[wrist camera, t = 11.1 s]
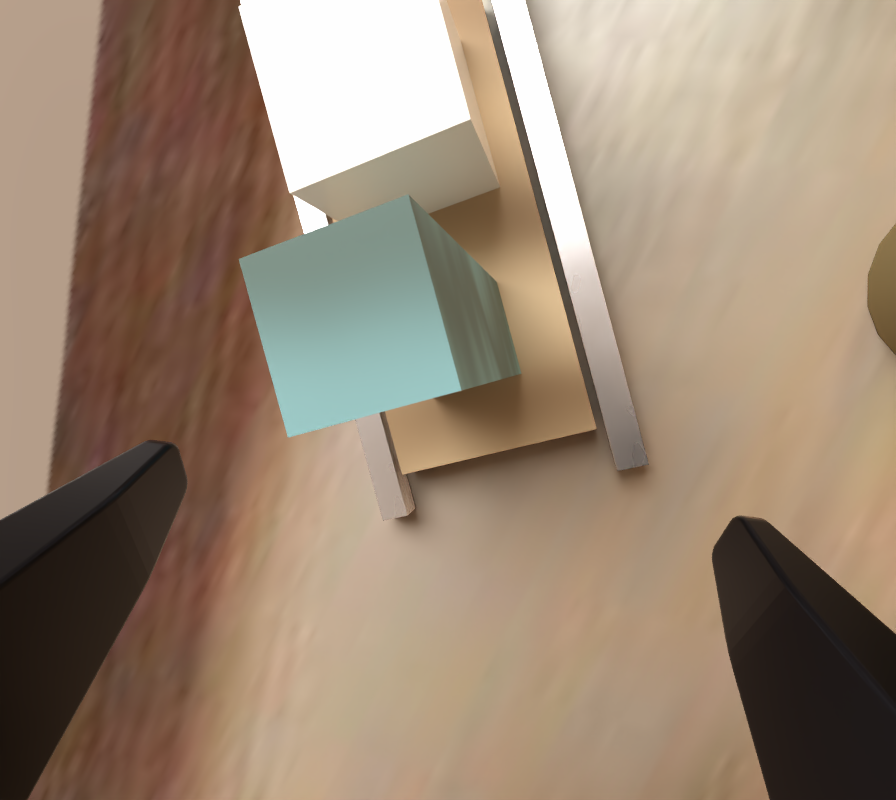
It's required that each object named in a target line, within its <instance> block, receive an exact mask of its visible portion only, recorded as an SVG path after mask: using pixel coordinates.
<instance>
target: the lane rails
mask: <svg viewBox="0 0 896 800" xmlns="http://www.w3.org/2000/svg"><path fill="white" fill-rule="evenodd" d="M240 1H241V5H242V4H244V3H246V2H248V1H250V0H240ZM491 2H492V6H493V10H494V14H495V17H496V21H497V25H498V29H499V32H500V36H501V40H502V44H503V47H504V51H505V55H506V58H507V62H508V66H509V70H510V73H511V77H512V81H513V85H514V88H515V92H516V96H517V100H518V103H519V107H520V111H521V115H522V118H523V122H524V126H525V129H526V133H527V137H528V141H529V144H530V148H531V152H532V156H533V159H534V163H535V167H536V171H537V174H538V178H539V182H540V186H541V189H542V193H543V197H544V200H545V204H546V208H547V212H548V215H549V219H550V223H551V227H552V230H553V234H554V238H555V242H556V245H557V249H558V253H559V257H560V260H561V264H562V268H563V271H564V275H565V279H566V283H567V286H568V290H569V294H570V298H571V301H572V305H573V309H574V313H575V316H576V320H577V324H578V328H579V331H580V335H581V339H582V342H583V346H584V350H585V354H586V357H587V361H588V365H589V369H590V372H591V376H592V380H593V384H594V387H595V391H596V395H597V398H598V402H599V406H600V410H601V413H602V417H603V421H604V425H605V428H606V432H607V436H608V440H609V443H610V447H611V451H612V455H613V458H614V462H615V466H616V468H617V471H620V470H625V469H629V468H634V467H639V466H643V465H648V464H649V463H648V459H647V456H646V452H645V448H644V445H643V441H642V437H641V433H640V430H639V426H638V422H637V418H636V415H635V411H634V407H633V403H632V400H631V396H630V392H629V388H628V385H627V381H626V377H625V373H624V370H623V366H622V362H621V358H620V355H619V351H618V347H617V343H616V340H615V336H614V332H613V328H612V325H611V321H610V317H609V313H608V310H607V306H606V302H605V298H604V295H603V291H602V287H601V283H600V280H599V276H598V272H597V268H596V265H595V261H594V257H593V253H592V250H591V246H590V242H589V238H588V235H587V231H586V227H585V223H584V220H583V216H582V212H581V208H580V205H579V201H578V197H577V193H576V190H575V186H574V182H573V178H572V175H571V171H570V167H569V163H568V160H567V156H566V152H565V148H564V145H563V141H562V137H561V133H560V130H559V126H558V122H557V118H556V115H555V111H554V107H553V103H552V100H551V96H550V92H549V88H548V85H547V81H546V77H545V73H544V70H543V66H542V62H541V58H540V55H539V51H538V47H537V43H536V40H535V36H534V32H533V28H532V25H531V21H530V17H529V13H528V10H527V6H526V2H525V0H491ZM294 198H295V202H296V205H297V209H298V213H299V216H300V220H301V224H302V227H303V231H304V234H306V233H308V232H311V231H314V230H316V229H319V228H321V227H324V226H327V225H329V224H332V223H333V220H332V218H331V217H330V216H328V215H326V214H325V213H323V212H321V211H319V210H318V209H316V208H314V207H313V206H311V205H309V204H307V203H306V202H304V201H302V200H300V199H299V198H297V197H295V196H294ZM355 421H356V424H357V428H358V432H359V435H360V439H361V443H362V446H363V450H364V454H365V457H366V461H367V464H368V468H369V472H370V475H371V479H372V483H373V486H374V490H375V494H376V497H377V501H378V505H379V508H380V512H381V516H382V519H383V521H384V520H389V519H394V518H398V517H403V516H408V515H409V514H410V513H411V512H412V511H413V510H414V509H415V504H414V500H413V497H412V493H411V489H410V486H409V482H408V478H407V475H406V474H403V475H402V472H401V469H400V465H399V461H398V458H397V454H396V450H395V447H394V443H393V439H392V436H391V432H390V428H389V425H388V421H387V417H386V414H385V411H384V412H380V413H377V414H373V415H369V416H366V417H362V418H358V419H355Z"/></svg>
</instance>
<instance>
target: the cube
mask: <svg viewBox="0 0 896 800" xmlns="http://www.w3.org/2000/svg"><path fill="white" fill-rule="evenodd" d="M239 10H240V14H241V18H242V21H243V25H244V29H245V32H246V36H247V40H248V43H249V47H250V51H251V54H252V58H253V62H254V65H255V69H256V73H257V76H258V80H259V83H260V87H261V91H262V94H263V98H264V102H265V105H266V109H267V113H268V116H269V120H270V124H271V127H272V131H273V135H274V138H275V142H276V145H277V149H278V153H279V156H280V160H281V164H282V167H283V171H284V175H285V178H286V182H287V186H288V189H289V193H290V194H292V195H294V196H295V197H297V198H299V199H300V200H302V201H304V202H306V203H307V204H309V205H311V206H313V207H314V208H316V209H318V210H319V211H321V212H323V213H325V214H326V215H328V216H330V217H331V218H333V219H335V220H337V221H340V220H342V219H345V218H348V217H350V216H353V215H355V214H358V213H361V212H363V211H366V210H368V209H371V208H374V207H376V206H379V205H382V204H384V203H387V202H389V201H392V200H395V199H397V198H400V197H402V196H405V195H408V194H409V195H410V196H411V197H412V198H413V199H414V200H415V201H416V202H417V203H418V204H419V205H420V206H421V207H422V208H423V209H424V210H425V211H426V212H427V213H428V214H429V213H432V212H434V211H437V210H440V209H443V208H445V207H448V206H451V205H453V204H456V203H459V202H462V201H464V200H467V199H470V198H472V197H475V196H478V195H480V194H483V193H486V192H489V191H491V190H494V189H497V188H499V187H500V185H499V181H498V177H497V173H496V170H495V166H494V162H493V159H492V155H491V151H490V147H489V144H488V140H487V136H486V133H485V129H484V125H483V121H482V118H481V114H480V110H479V106H478V103H477V99H476V95H475V92H474V88H473V84H472V80H471V77H470V73H469V69H468V66H467V62H466V58H465V54H464V51H463V47H462V43H461V40H460V37H459V34H458V31H457V28H456V26H455V23H454V20H453V17H452V14H451V12H450V9H449V6H448V3H447V0H250V1H248V2H246V3H244V4H242V5H241V6H239Z"/></svg>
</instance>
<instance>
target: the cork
mask: <svg viewBox="0 0 896 800" xmlns="http://www.w3.org/2000/svg"><path fill="white" fill-rule="evenodd" d="M868 308H869V311H870V314H871V316H872V319H873V322H874V324H875V327H876V330H877V333H878V335H879V336H880V337H881V338H882V340H883V341H884V342H885V343H886V344H887V345H888V346H889V348H890V349H891V350H892V351H893V352H894V353H895V354H896V224H895V225H894V227H893V228H892V229H891V230H890V232H889V233H888V234H887V235H886V237H885V238H884V239H883V240H882V242H881V243H880V244H879V247H878V250H877V252H876V255H875V258H874V260H873V263H872V266H871V268H870V271H869V274H868Z"/></svg>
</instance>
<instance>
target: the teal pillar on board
mask: <svg viewBox="0 0 896 800" xmlns="http://www.w3.org/2000/svg"><path fill="white" fill-rule="evenodd" d="M447 3H448V6H449V9H450V12H451V14H452V17H453V20H454V23H455V26H456V28H457V31H458V34H459V37H460V40H461V43H462V47H463V51H464V54H465V58H466V62H467V66H468V69H469V73H470V77H471V80H472V84H473V88H474V92H475V95H476V99H477V103H478V106H479V110H480V114H481V118H482V121H483V125H484V129H485V133H486V136H487V140H488V144H489V147H490V151H491V155H492V159H493V162H494V166H495V170H496V173H497V177H498V181H499V185H500V187H499V188H497V189H494V190H491V191H489V192H486V193H483V194H480V195H478V196H475V197H472V198H470V199H467V200H464V201H462V202H459V203H456V204H453V205H451V206H448V207H445V208H443V209H440V210H437V211H434V212H432V213H429V214H428V213H427V212H426V211H425V210H424V209H423V208H422V207H421V206H420V205H419V204H418V203H417V202H416V201H415V200H414V199H413V198H412V197H411V196H410V195H409V194H408V195H405V196H402V197H400V198H397V199H395V200H392V201H389V202H387V203H384V204H382V205H379V206H376V207H374V208H371V209H368V210H366V211H363V212H361V213H358V214H355V215H353V216H350V217H348V218H345V219H342V220H340V221H337V220H335V219H333V218H332V220H333V223H332V224H329V225H327V226H324V227H321V228H319V229H316V230H314V231H311V232H308V233H306V234H303V235H301V236H298V237H295V238H293V239H290V240H288V241H285V242H282V243H280V244H277V245H274V246H272V247H269V248H267V249H264V250H261V251H259V252H256V253H254V254H251V255H248V256H246V257H243V258H241V259H239V261H240V265H241V269H242V272H243V276H244V280H245V283H246V287H247V290H248V294H249V298H250V301H251V305H252V309H253V312H254V316H255V319H256V323H257V327H258V330H259V334H260V338H261V341H262V345H263V348H264V352H265V356H266V359H267V363H268V367H269V370H270V374H271V377H272V381H273V385H274V388H275V392H276V396H277V399H278V403H279V406H280V410H281V414H282V417H283V421H284V425H285V428H286V432H287V435H288V437H292V436H295V435H299V434H303V433H306V432H310V431H314V430H318V429H321V428H325V427H329V426H332V425H336V424H340V423H343V422H347V421H351V420H354V419H358V418H362V417H366V416H369V415H373V414H377V413H380V412H384V411H385V414H386V417H387V421H388V425H389V428H390V432H391V436H392V439H393V443H394V447H395V450H396V454H397V458H398V461H399V465H400V469H401V472H402V475H403V474H407V473H412V472H416V471H420V470H424V469H429V468H433V467H437V466H441V465H446V464H450V463H454V462H458V461H463V460H467V459H471V458H475V457H480V456H484V455H488V454H493V453H497V452H501V451H505V450H510V449H514V448H518V447H522V446H527V445H531V444H535V443H539V442H544V441H548V440H552V439H556V438H561V437H565V436H569V435H573V434H578V433H582V432H586V431H591V430H595V429H597V428H596V425H595V421H594V417H593V413H592V410H591V406H590V402H589V398H588V395H587V391H586V387H585V383H584V380H583V376H582V372H581V369H580V365H579V361H578V357H577V354H576V350H575V346H574V342H573V339H572V335H571V331H570V327H569V324H568V320H567V316H566V313H565V309H564V305H563V301H562V298H561V294H560V290H559V286H558V283H557V279H556V275H555V271H554V268H553V264H552V260H551V257H550V253H549V249H548V245H547V242H546V238H545V234H544V230H543V227H542V223H541V219H540V215H539V212H538V208H537V204H536V201H535V197H534V193H533V189H532V186H531V182H530V178H529V174H528V171H527V167H526V163H525V159H524V156H523V152H522V148H521V145H520V141H519V137H518V133H517V130H516V126H515V122H514V118H513V115H512V111H511V107H510V103H509V100H508V96H507V92H506V89H505V85H504V81H503V77H502V74H501V70H500V66H499V62H498V59H497V55H496V51H495V47H494V44H493V40H492V36H491V33H490V29H489V25H488V21H487V18H486V14H485V10H484V6H483V3H482V0H447Z"/></svg>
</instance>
